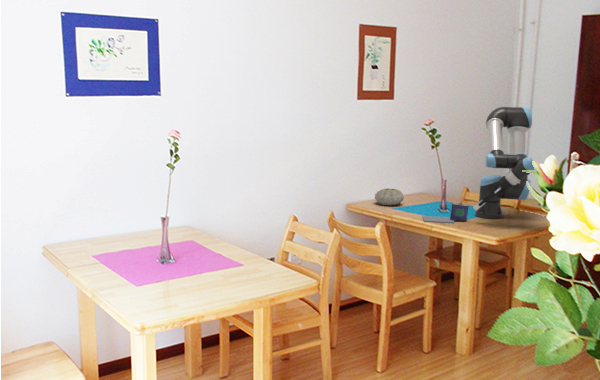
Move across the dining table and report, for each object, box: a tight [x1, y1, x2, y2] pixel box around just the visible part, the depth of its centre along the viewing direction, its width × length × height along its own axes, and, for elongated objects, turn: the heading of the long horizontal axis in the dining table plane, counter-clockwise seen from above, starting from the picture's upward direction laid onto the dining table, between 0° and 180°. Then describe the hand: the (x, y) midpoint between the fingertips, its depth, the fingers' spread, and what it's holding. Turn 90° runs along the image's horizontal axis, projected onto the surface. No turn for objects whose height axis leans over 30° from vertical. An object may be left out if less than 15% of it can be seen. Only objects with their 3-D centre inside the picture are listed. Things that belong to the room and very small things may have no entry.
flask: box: [449, 201, 470, 222], centre depth 318 cm, size 9×3×11 cm, turn 88°
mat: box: [422, 215, 455, 224], centre depth 320 cm, size 16×13×1 cm
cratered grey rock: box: [374, 188, 405, 206], centre depth 362 cm, size 18×18×10 cm
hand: (474, 208), depth 314 cm, fingers closed
